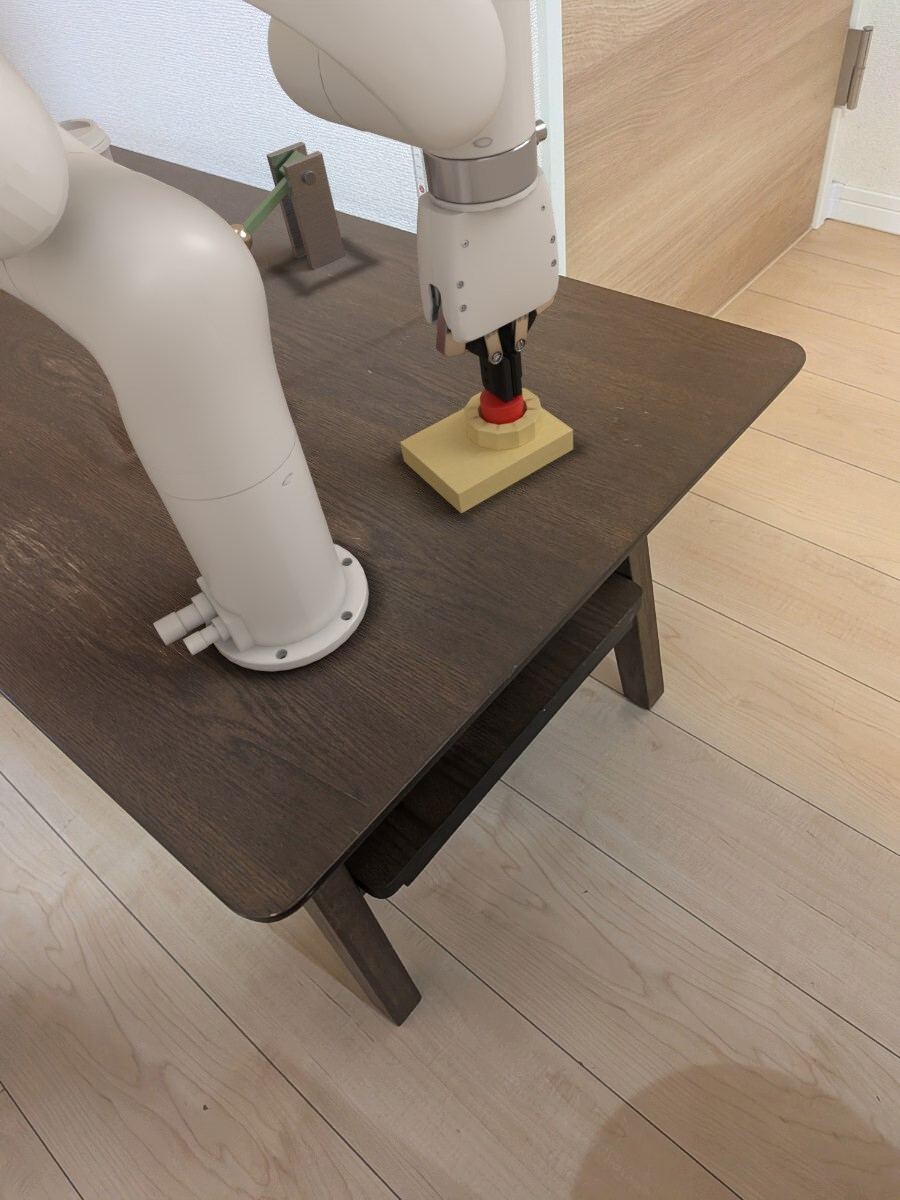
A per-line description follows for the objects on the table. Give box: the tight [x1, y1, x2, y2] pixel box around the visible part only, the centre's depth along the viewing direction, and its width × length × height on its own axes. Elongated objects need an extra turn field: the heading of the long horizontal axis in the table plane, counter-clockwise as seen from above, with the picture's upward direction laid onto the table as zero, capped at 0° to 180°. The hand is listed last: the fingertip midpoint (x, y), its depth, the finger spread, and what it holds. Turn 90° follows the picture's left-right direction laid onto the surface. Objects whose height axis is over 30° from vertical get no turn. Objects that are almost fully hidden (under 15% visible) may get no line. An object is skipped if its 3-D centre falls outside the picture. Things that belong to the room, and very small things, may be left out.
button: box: [480, 388, 524, 425], centre depth 70 cm, size 4×4×2 cm
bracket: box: [266, 141, 346, 271], centre depth 94 cm, size 9×8×13 cm
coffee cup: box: [56, 118, 115, 162], centre depth 102 cm, size 10×10×15 cm
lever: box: [229, 151, 305, 252], centre depth 91 cm, size 13×3×3 cm, turn 124°
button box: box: [399, 387, 574, 514], centre depth 71 cm, size 12×9×4 cm
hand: (503, 391), depth 69 cm, fingers closed
